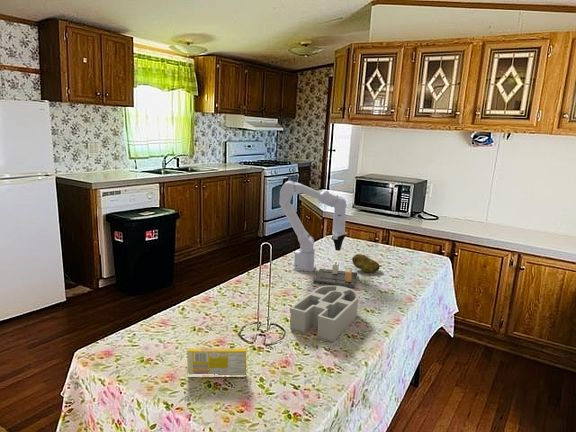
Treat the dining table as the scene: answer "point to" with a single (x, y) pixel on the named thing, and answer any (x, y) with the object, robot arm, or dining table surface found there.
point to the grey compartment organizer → (325, 312)
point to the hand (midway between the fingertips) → (337, 250)
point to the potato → (365, 263)
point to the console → (334, 278)
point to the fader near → (348, 275)
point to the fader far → (335, 268)
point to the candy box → (217, 361)
